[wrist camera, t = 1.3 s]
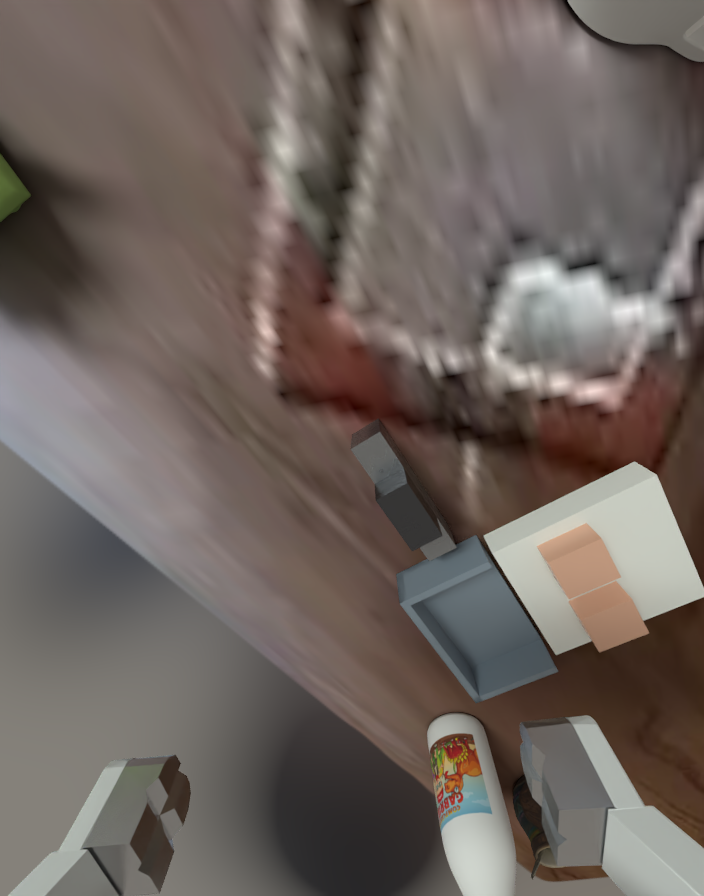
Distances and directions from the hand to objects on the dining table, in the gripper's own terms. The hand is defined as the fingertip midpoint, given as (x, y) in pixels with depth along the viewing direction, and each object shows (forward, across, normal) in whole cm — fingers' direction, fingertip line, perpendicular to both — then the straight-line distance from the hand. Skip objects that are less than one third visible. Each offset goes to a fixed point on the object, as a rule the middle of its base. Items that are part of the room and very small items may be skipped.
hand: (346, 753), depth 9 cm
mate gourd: (+30, -17, +58) cm, 68 cm away
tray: (+29, -10, +24) cm, 39 cm away
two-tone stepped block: (+29, -4, +7) cm, 30 cm away
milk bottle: (+30, -6, +45) cm, 55 cm away
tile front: (+26, -19, +16) cm, 36 cm away
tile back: (+26, -22, +23) cm, 41 cm away
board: (+29, -22, +19) cm, 41 cm away
